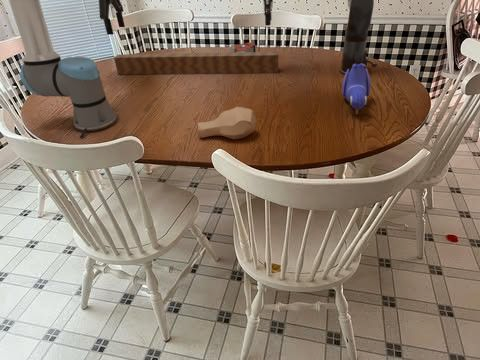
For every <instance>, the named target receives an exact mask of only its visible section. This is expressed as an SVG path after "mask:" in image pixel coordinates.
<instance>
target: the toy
mask: <svg viewBox="0 0 480 360" xmlns="http://www.w3.org/2000/svg"><path fill="white" fill-rule="evenodd" d="M363 67H364V68H363ZM348 72H349V69H348V70H347V71H346V73H345V74H344V76H343V79H342V85H341V92H342V96H343V97H344V98H345V99H346V100H347V102H348V104H349V106H351V107H352V109H354V110H355V115H356V116H357V115H358V114H359V111H360V110H361V109H363V108H364V106H367V103H368V96H369V95H370V93H371V92H370V91H371V78H370V74H369V70H368V68H366V66H365V64H362V63H361V64H359V65H357V64H354V65H352V69H351V70H350V72H349V74H348Z"/></svg>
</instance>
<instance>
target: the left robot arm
mask: <svg viewBox="0 0 480 360" xmlns="http://www.w3.org/2000/svg"><path fill="white" fill-rule="evenodd" d="M8 2H9V5H10V8H11V11H12V14H13V17H14V21H15V24H16V27H17V31H18V33H19V36H20V39H21V42H22V45H23V48H24V52H25V55H24V57H22V62H23V64H22V65H21V66H20V71H19V76H20V80H21V83H22V85H23V87H24V88H25V89H26V90H27V91H28V92H29V93H31V94H33V95H35V96H40V97H63V98H65V97H66V98H69V99H70V101H71V104H72V108H73V114H72V117H73V118H72V119H73V125H74V128H75V129H76V131H78V132H81V133H80V135H79V138H80V139H82V138H83V137H84V135H85V134H86V133H92V132H99V131H102V130H105V129H107V128H110V127H111V126H113V125H115V124H116V122H117V121H118V116H117V113H116V111H115V107H112V105H111V103H110V102H109V101H108V99H107V96H106V92H105V89H104V87H103V86H104V85H103V83H102V79H101V73H100V71H99V69H98V66H97V64H96V62H95V61H94V60H93V59H91V58H89V57H86V56H85V57H84V56H77V55H76V56H68V57H65V58H62V59H61V55H60V54H59V53H57V52H56V51H55V50H54V47H53V43H52V41H51V40H52V39H51V36H50V33H49V30H48V25H47V21H46V18H45V16H44V11H43V8H42V4H41V1H40V0H8ZM110 5H112V7H113V9H114V10H115V16H116V21H117V24H118V25H117V26H118V28H125V27H126V25H125V21H124V20H125V19H124V17H123V12H124V7H123V5H122V3H121V0H98V8H99V10H98V11H99V19H100V20H103V24H104V29H105V32H106V35H107V36H109V35H110V36H111V35H114V30H113V26H112V25H113V24H112V21H111V18H110Z"/></svg>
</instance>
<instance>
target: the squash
mask: <svg viewBox="0 0 480 360" xmlns="http://www.w3.org/2000/svg"><path fill="white" fill-rule="evenodd" d="M256 124H257V117H256V116H255V114H254V112H253V110H252V108H246V107H243V106H236V107H234V108H231V109H227V110H224V111H222V112H221V113H220V114H219V115H218V117H217V118H215V119H213V120H209V121H208V120H207V121H200V122H198V123H197V135H198V137H200V138H206V137H207V138H208V137H212V136H213V137H214V136H223V137H226V138H228V139H231V140H239V139H245V138H247V137H248V136H250V135H251V134H253V133H255V128H256Z"/></svg>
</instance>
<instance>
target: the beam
mask: <svg viewBox="0 0 480 360" xmlns="http://www.w3.org/2000/svg"><path fill="white" fill-rule="evenodd" d="M279 54H280V53H279V51H255V52H240V53H231V52H191V53H190V52H189V53H185V52H184V53H136V54H135V53H134V54H133V53H132V54H128V53H127V54H116V55H115V56H114V57H113V61H114V64H115V69H116V72H117V75H195V74H199V75H202V74H206V75H208V74H211V75H212V74H278V73H279V57H280V56H279Z"/></svg>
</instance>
